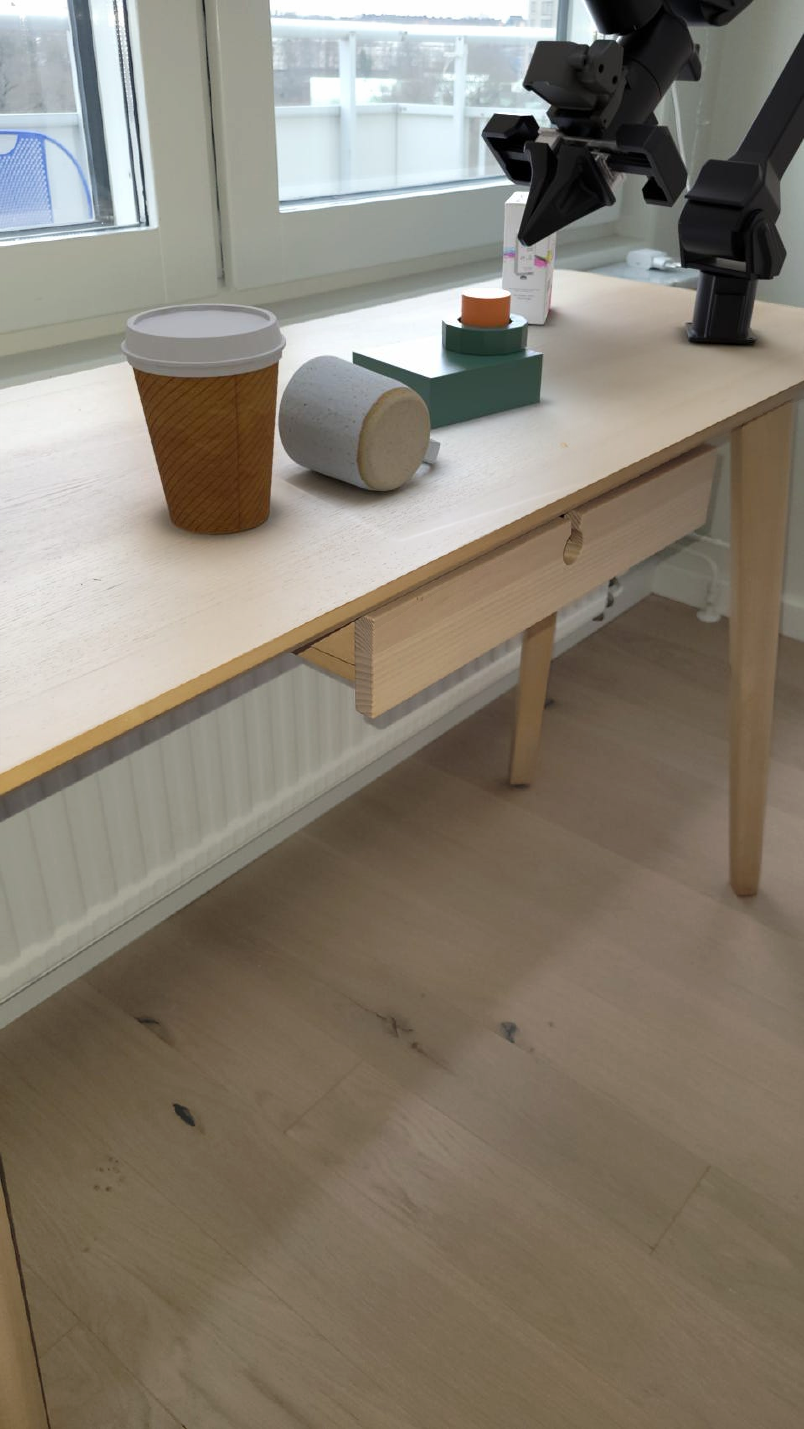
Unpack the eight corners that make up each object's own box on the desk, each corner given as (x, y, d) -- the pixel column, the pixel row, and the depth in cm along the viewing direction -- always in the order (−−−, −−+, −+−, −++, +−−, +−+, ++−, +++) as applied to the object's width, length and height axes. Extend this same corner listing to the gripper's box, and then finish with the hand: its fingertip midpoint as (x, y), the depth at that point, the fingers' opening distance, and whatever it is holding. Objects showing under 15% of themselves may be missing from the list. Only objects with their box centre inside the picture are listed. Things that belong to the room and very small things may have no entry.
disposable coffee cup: (152, 490, 72) (129, 302, 65) (295, 486, 72) (285, 300, 66) (135, 548, 64) (106, 341, 57) (295, 543, 64) (284, 338, 58)
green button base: (472, 373, 96) (475, 304, 93) (552, 399, 90) (558, 325, 87) (353, 400, 89) (351, 325, 86) (429, 430, 83) (431, 351, 79)
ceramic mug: (363, 509, 69) (363, 389, 65) (277, 478, 73) (272, 364, 69) (467, 470, 76) (473, 359, 72) (382, 444, 80) (383, 338, 76)
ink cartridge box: (507, 306, 120) (515, 159, 112) (551, 308, 119) (563, 160, 111) (497, 323, 113) (505, 168, 105) (544, 326, 112) (556, 169, 104)
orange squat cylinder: (486, 317, 91) (487, 286, 89) (519, 326, 88) (521, 294, 87) (450, 324, 89) (451, 292, 87) (483, 333, 86) (484, 300, 85)
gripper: (504, -1, 87) (397, 158, 87) (688, -5, 75) (563, 180, 75) (563, 107, 95) (465, 252, 95) (736, 120, 83) (624, 286, 83)
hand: (522, 242), depth 87 cm, fingers closed
